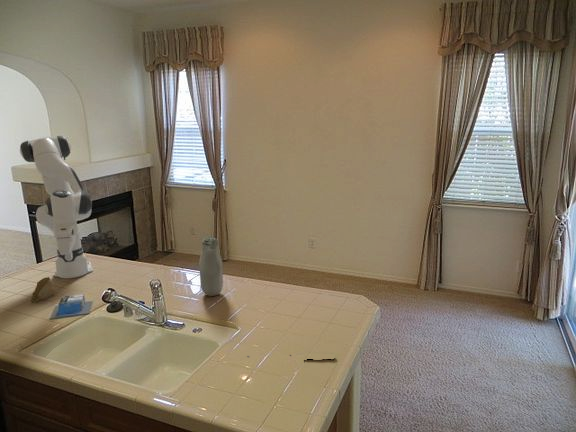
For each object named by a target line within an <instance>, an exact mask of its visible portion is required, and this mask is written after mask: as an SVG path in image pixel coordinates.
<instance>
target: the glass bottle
mask: <svg viewBox="0 0 576 432" xmlns="http://www.w3.org/2000/svg"><path fill="white" fill-rule="evenodd" d="M200 253H201V254H200V257H199V262H198V263H199V265H198V266H199V267H198V268H199V279H200V281H199V283H200V289H201V291H202V292H203V294H204V295H206V296H209V297H214V296H217V295H219V294H220V293H221V292H222V290H223V285H224V275H223V269H224V267H223V260H222V256H221V252H220V248H219V241H218V239H217V238H215V237H214V236H208V237H205V238H203V239H202V241H201V252H200Z"/></svg>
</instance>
